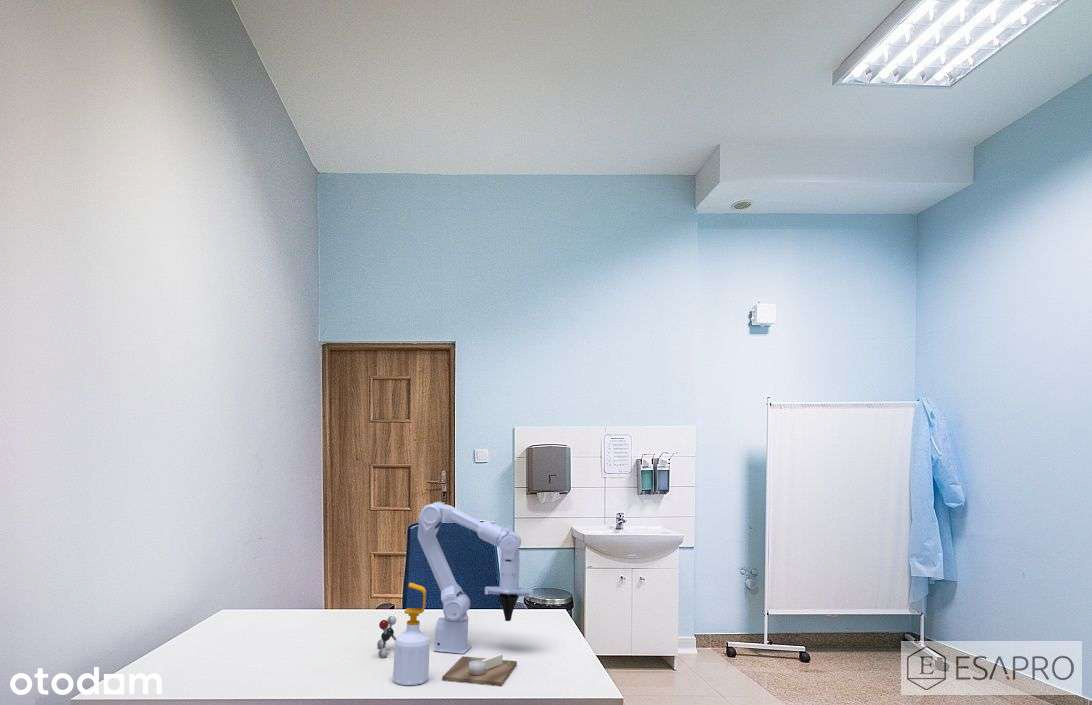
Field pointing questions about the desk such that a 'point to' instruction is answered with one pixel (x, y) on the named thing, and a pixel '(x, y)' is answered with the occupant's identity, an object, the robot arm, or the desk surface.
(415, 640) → the soap bottle
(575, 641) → the desk surface
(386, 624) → the molecular model
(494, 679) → the dial board
